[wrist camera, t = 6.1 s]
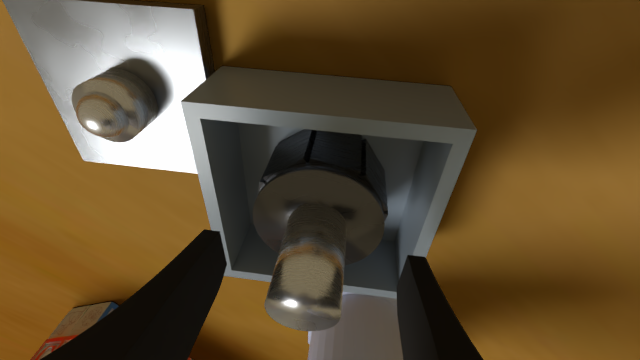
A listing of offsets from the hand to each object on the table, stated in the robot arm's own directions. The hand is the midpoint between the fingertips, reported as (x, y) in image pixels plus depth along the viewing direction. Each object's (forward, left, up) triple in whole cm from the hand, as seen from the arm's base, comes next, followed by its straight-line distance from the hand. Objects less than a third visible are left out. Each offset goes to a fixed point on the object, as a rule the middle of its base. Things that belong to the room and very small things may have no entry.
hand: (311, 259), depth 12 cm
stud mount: (+4, +10, -6) cm, 12 cm away
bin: (0, 0, -6) cm, 6 cm away
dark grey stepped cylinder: (0, 0, -6) cm, 6 cm away
